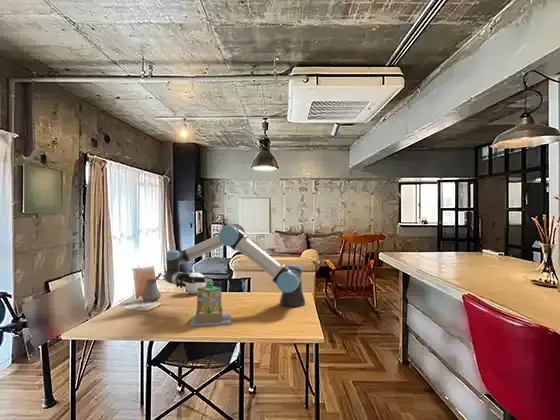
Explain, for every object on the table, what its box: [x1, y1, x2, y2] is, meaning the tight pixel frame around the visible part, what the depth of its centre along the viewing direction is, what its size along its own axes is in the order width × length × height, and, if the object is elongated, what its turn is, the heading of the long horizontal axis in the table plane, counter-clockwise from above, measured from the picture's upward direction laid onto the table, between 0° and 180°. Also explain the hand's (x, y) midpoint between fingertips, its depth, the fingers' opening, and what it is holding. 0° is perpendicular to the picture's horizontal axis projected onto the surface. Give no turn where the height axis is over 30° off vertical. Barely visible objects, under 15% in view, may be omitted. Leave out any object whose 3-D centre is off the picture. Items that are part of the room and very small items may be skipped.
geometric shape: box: [184, 271, 207, 295], centre depth 268 cm, size 14×15×15 cm
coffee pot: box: [141, 272, 163, 302], centre depth 254 cm, size 21×12×15 cm, turn 173°
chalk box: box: [196, 280, 222, 313], centre depth 203 cm, size 9×9×15 cm
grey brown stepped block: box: [189, 306, 232, 327], centre depth 203 cm, size 20×16×6 cm
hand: (200, 283), depth 212 cm, fingers open, 13 cm apart
